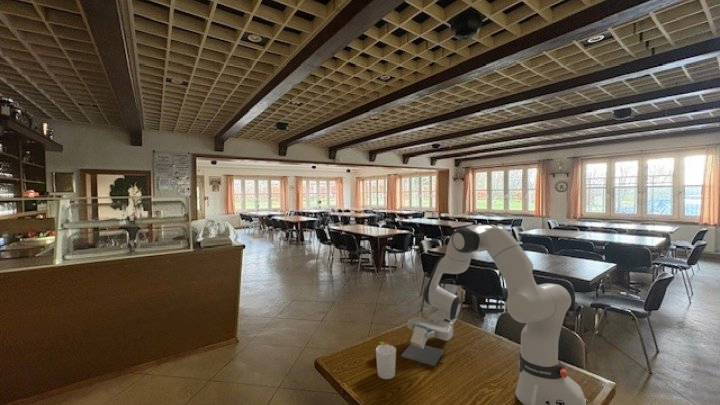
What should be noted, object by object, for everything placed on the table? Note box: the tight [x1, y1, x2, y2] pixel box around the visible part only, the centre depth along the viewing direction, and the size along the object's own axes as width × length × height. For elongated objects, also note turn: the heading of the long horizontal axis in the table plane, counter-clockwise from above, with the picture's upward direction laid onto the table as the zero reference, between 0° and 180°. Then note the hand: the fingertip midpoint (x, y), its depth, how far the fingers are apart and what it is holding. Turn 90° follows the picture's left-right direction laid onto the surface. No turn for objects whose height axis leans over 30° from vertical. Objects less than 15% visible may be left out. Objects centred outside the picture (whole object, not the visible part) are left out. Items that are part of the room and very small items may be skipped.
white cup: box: [375, 344, 397, 380], centre depth 123 cm, size 8×8×10 cm
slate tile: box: [400, 342, 445, 367], centre depth 139 cm, size 15×14×1 cm
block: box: [410, 324, 430, 349], centre depth 136 cm, size 4×4×8 cm
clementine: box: [376, 341, 390, 348], centre depth 135 cm, size 8×7×7 cm
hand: (420, 334), depth 136 cm, fingers closed on block, 4 cm apart
